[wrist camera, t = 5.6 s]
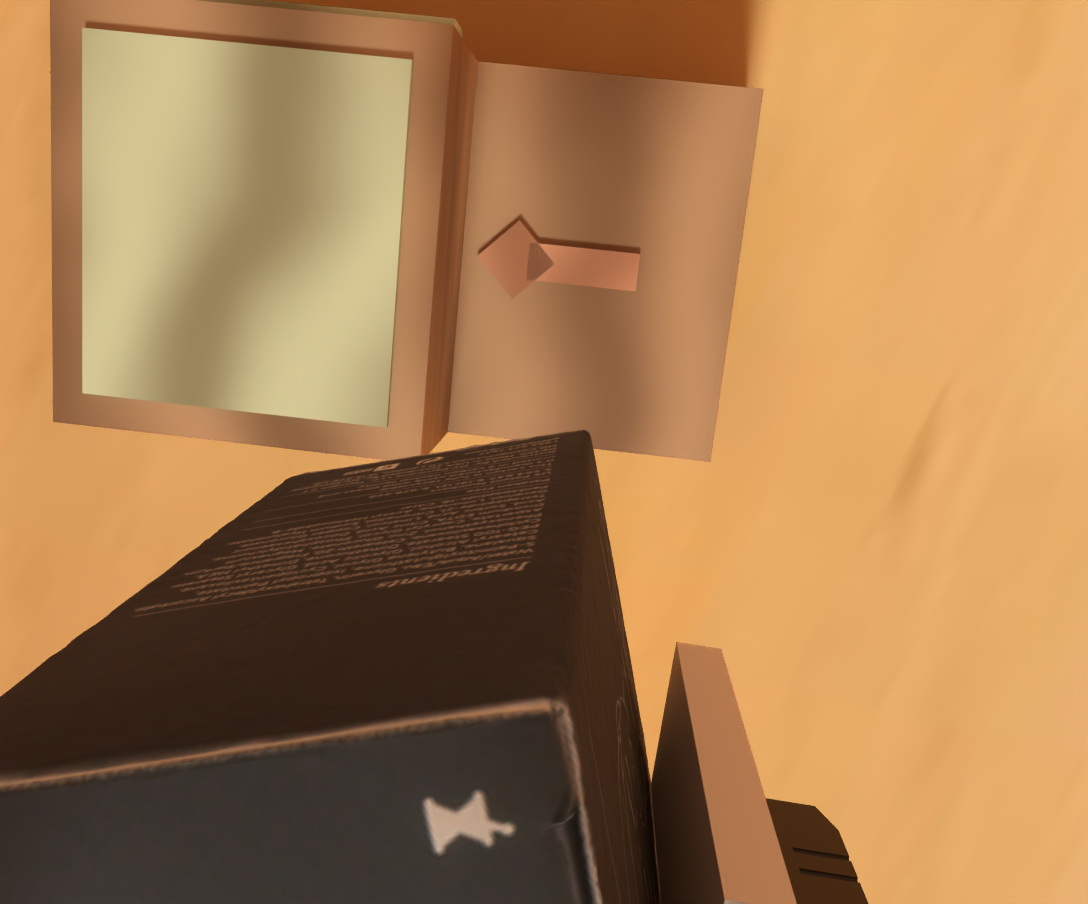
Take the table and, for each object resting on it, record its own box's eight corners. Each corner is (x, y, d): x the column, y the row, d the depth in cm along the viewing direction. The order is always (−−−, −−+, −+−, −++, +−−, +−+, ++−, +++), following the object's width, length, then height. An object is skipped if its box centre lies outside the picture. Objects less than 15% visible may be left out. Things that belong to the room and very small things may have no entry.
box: (285, 472, 17) (-171, 794, 7) (592, 421, 17) (589, 686, 7) (374, 854, 19) (109, 1583, 9) (659, 818, 18) (744, 1542, 8)
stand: (184, 381, 37) (49, 423, 28) (192, 48, 34) (45, -24, 26) (699, 439, 36) (729, 501, 27) (746, 101, 34) (796, 47, 25)
